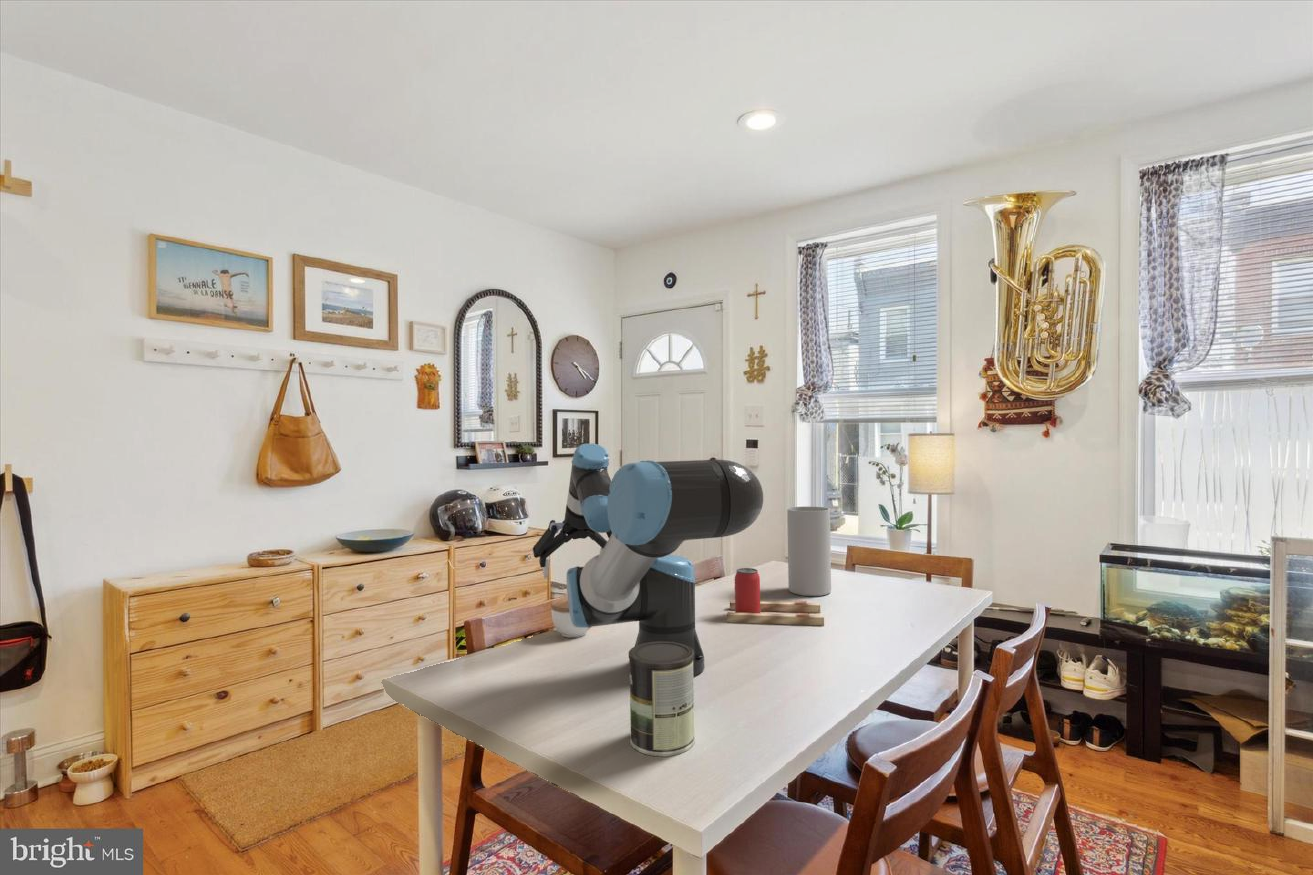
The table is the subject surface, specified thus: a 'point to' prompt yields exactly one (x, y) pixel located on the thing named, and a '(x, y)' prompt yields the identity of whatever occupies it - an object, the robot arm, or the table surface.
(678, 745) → the coffee can
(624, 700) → the table surface
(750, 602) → the beer can
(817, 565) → the cylinder vase
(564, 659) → the table surface
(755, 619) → the channel
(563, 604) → the lidded jar
